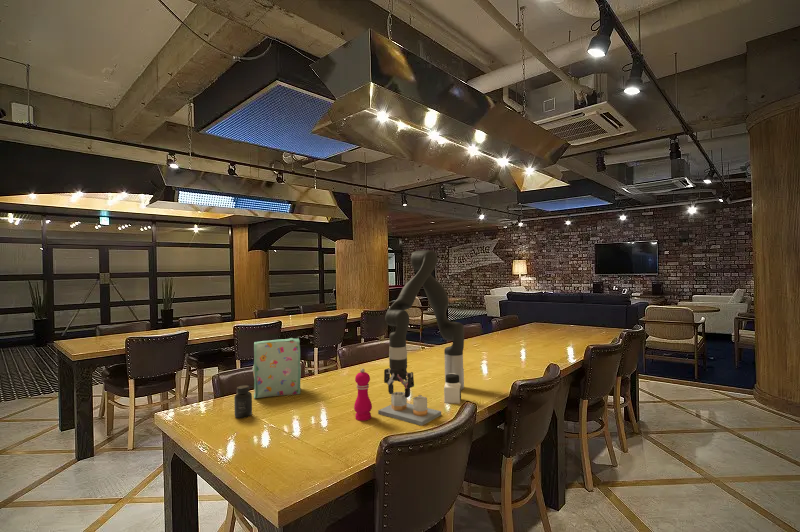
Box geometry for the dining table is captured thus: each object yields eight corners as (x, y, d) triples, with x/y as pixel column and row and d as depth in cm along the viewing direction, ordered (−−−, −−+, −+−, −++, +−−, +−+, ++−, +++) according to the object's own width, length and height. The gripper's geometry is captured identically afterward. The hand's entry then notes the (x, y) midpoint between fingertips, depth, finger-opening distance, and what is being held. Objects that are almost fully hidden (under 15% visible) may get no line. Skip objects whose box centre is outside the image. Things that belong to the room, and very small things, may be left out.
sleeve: (389, 409, 164) (388, 394, 164) (398, 404, 169) (398, 390, 169) (399, 411, 160) (399, 397, 161) (409, 407, 166) (408, 393, 166)
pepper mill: (358, 422, 153) (357, 371, 154) (351, 416, 160) (350, 367, 160) (374, 419, 157) (374, 369, 157) (367, 413, 163) (367, 365, 164)
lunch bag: (300, 386, 205) (299, 334, 206) (302, 395, 190) (301, 339, 190) (253, 391, 198) (252, 337, 198) (252, 401, 182) (251, 343, 183)
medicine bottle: (460, 403, 173) (459, 376, 173) (444, 403, 175) (443, 376, 175) (461, 398, 180) (460, 372, 180) (445, 398, 182) (445, 372, 182)
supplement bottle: (255, 413, 165) (255, 385, 166) (244, 419, 159) (244, 389, 159) (242, 412, 168) (242, 384, 168) (230, 417, 161) (230, 388, 161)
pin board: (398, 404, 174) (398, 384, 174) (441, 414, 160) (440, 393, 160) (378, 413, 163) (377, 392, 163) (421, 425, 149) (421, 402, 149)
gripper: (417, 357, 164) (418, 395, 164) (390, 353, 173) (391, 390, 172) (406, 360, 158) (407, 401, 158) (379, 356, 167) (380, 394, 166)
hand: (399, 395), depth 165 cm, fingers open, 8 cm apart
